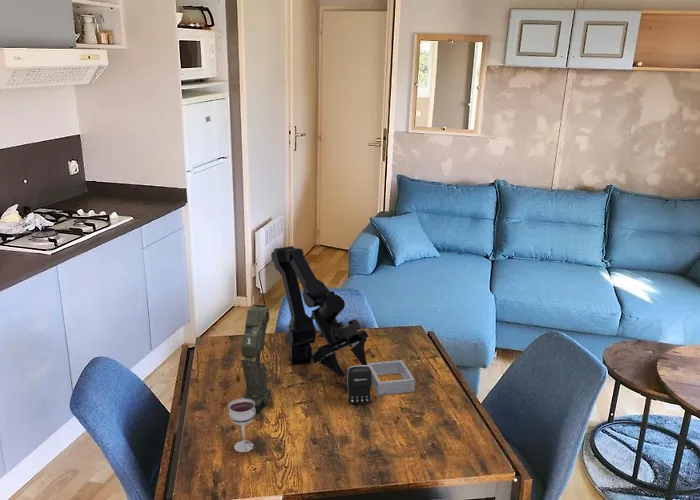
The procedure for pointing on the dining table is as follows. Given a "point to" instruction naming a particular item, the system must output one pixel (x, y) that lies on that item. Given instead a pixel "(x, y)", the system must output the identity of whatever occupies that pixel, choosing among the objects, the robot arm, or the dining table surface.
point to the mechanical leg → (255, 356)
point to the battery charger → (359, 384)
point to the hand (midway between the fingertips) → (354, 371)
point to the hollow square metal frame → (396, 385)
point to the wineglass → (242, 419)
